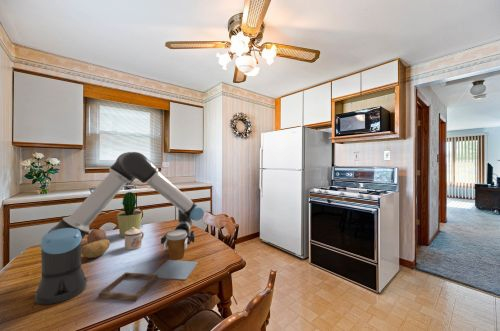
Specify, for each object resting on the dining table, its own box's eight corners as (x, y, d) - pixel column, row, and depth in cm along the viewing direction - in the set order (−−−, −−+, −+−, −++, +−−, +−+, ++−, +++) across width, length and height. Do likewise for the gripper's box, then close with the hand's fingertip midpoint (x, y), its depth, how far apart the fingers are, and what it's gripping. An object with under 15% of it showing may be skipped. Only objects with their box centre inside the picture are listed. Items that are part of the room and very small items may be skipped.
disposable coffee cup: (191, 256, 104) (191, 231, 103) (175, 264, 96) (175, 237, 95) (178, 251, 109) (178, 227, 108) (161, 258, 101) (161, 233, 100)
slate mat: (150, 277, 95) (150, 276, 95) (168, 260, 111) (168, 259, 111) (185, 280, 93) (185, 279, 93) (198, 262, 109) (198, 261, 109)
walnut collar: (98, 297, 81) (98, 293, 81) (125, 276, 96) (125, 272, 96) (136, 301, 79) (136, 296, 79) (157, 278, 94) (157, 274, 94)
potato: (115, 252, 120) (115, 238, 120) (89, 263, 107) (89, 247, 106) (102, 249, 123) (102, 235, 123) (75, 260, 110) (75, 244, 110)
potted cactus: (146, 234, 149) (146, 191, 148) (121, 240, 137) (121, 193, 136) (137, 229, 159) (137, 188, 158) (113, 234, 147) (113, 190, 147)
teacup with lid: (132, 251, 121) (132, 230, 121) (120, 248, 124) (120, 228, 124) (149, 243, 133) (149, 224, 132) (137, 241, 136) (137, 223, 135)
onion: (90, 248, 132) (85, 233, 133) (108, 241, 137) (103, 226, 138) (89, 248, 124) (83, 231, 125) (107, 240, 129) (102, 224, 130)
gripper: (201, 235, 121) (198, 253, 99) (162, 237, 118) (150, 256, 96) (201, 222, 121) (198, 237, 99) (162, 224, 118) (150, 239, 95)
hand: (175, 246), depth 97 cm, fingers closed on disposable coffee cup, 8 cm apart
